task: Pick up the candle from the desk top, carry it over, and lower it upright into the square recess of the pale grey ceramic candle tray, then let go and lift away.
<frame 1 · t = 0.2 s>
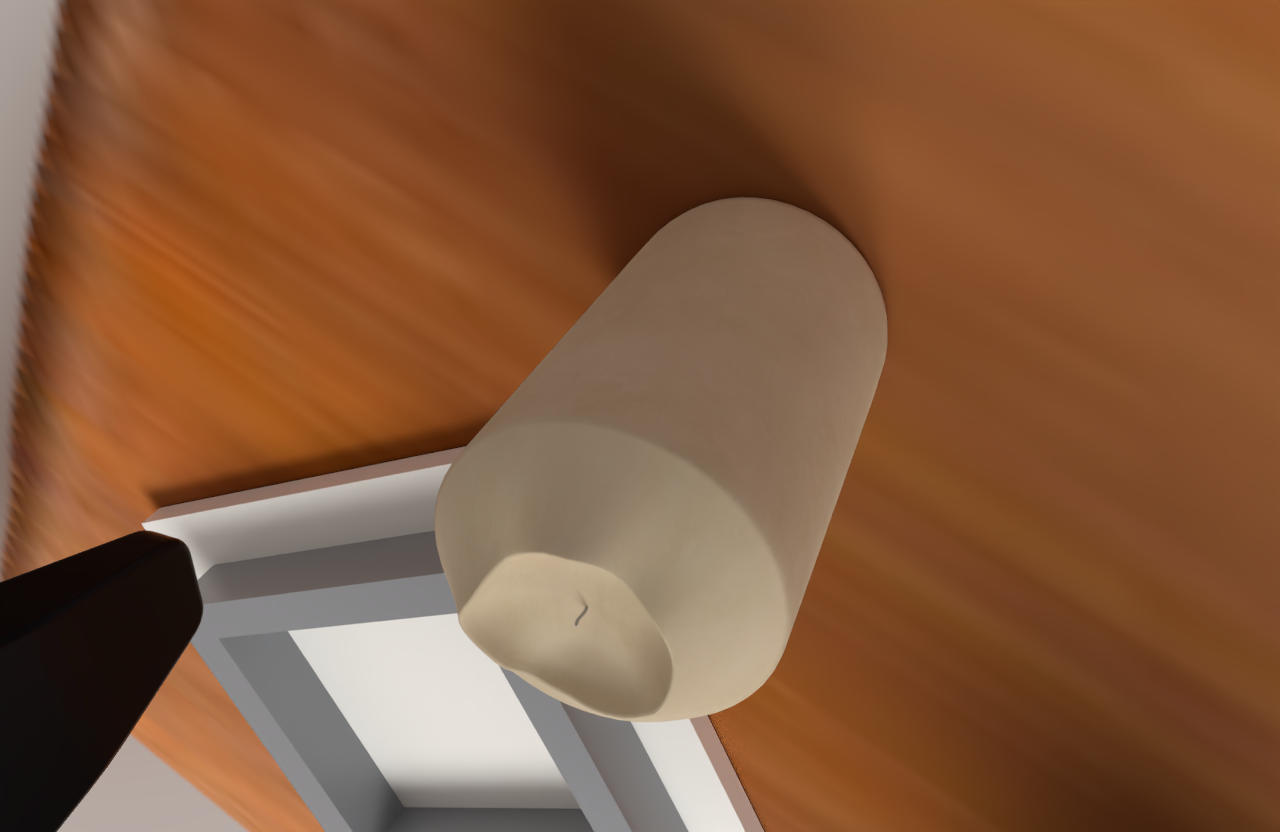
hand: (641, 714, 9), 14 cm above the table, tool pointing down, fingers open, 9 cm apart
candle: (759, 316, 22), on the table
candle tray: (461, 679, 32), on the table
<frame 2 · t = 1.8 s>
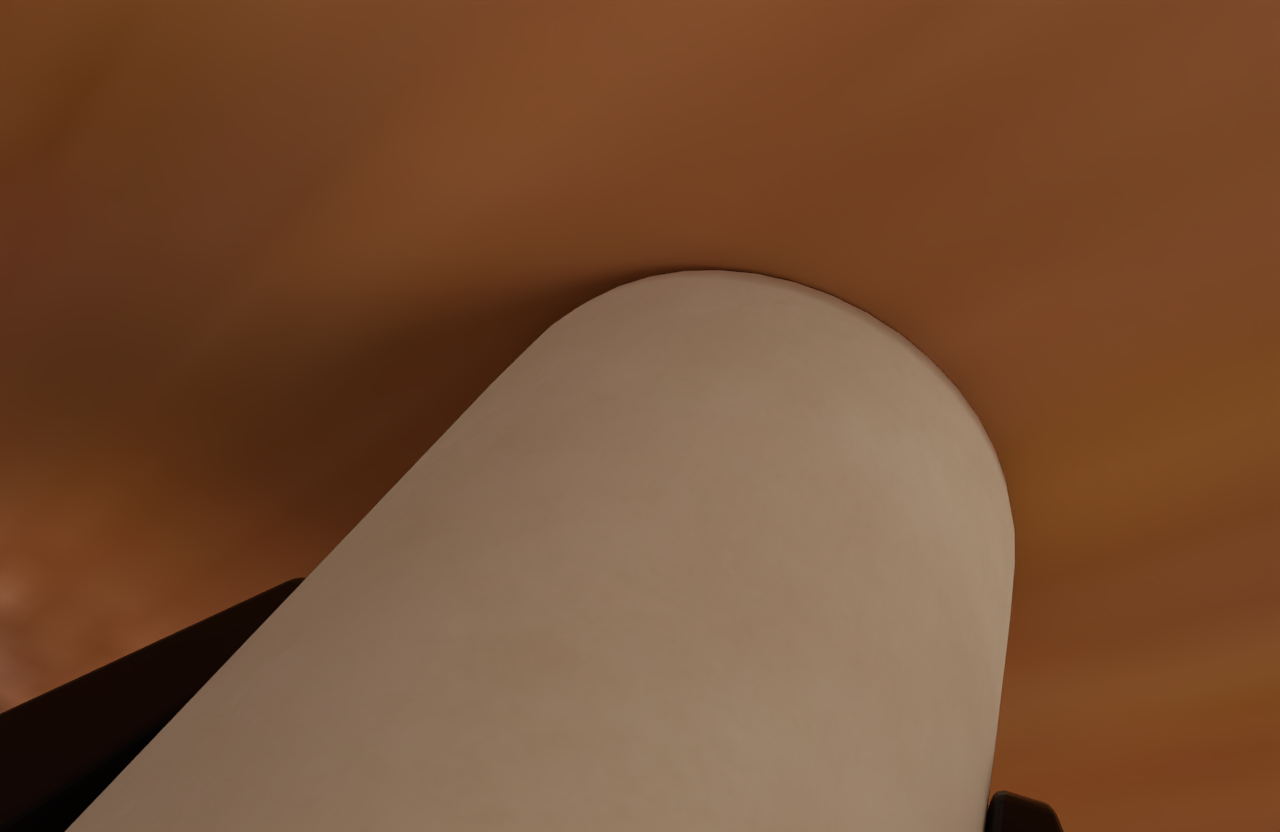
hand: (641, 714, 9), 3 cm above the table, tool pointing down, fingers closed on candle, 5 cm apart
candle: (746, 494, 11), on the table, touching gripper
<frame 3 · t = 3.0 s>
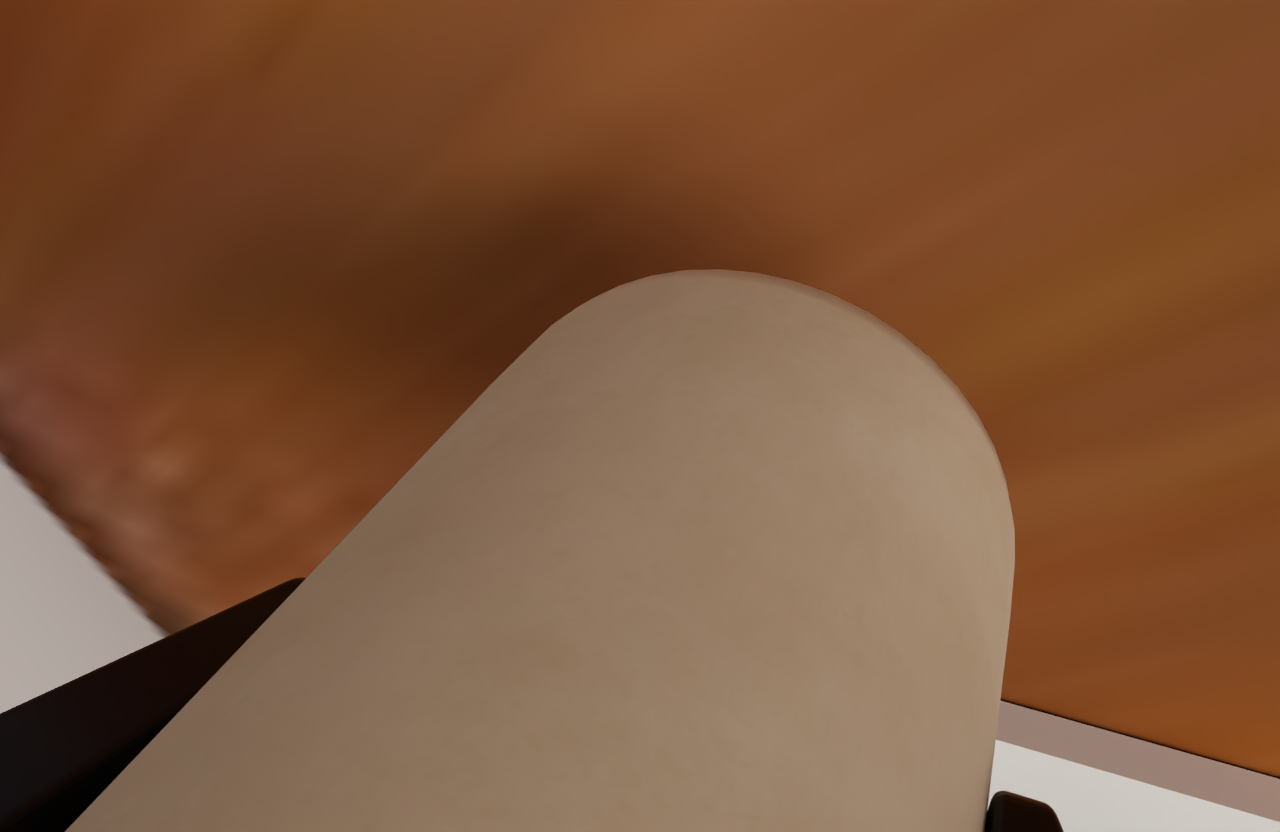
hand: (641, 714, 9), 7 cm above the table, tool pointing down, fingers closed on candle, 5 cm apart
candle: (747, 493, 11), point 4 cm above the table, touching gripper
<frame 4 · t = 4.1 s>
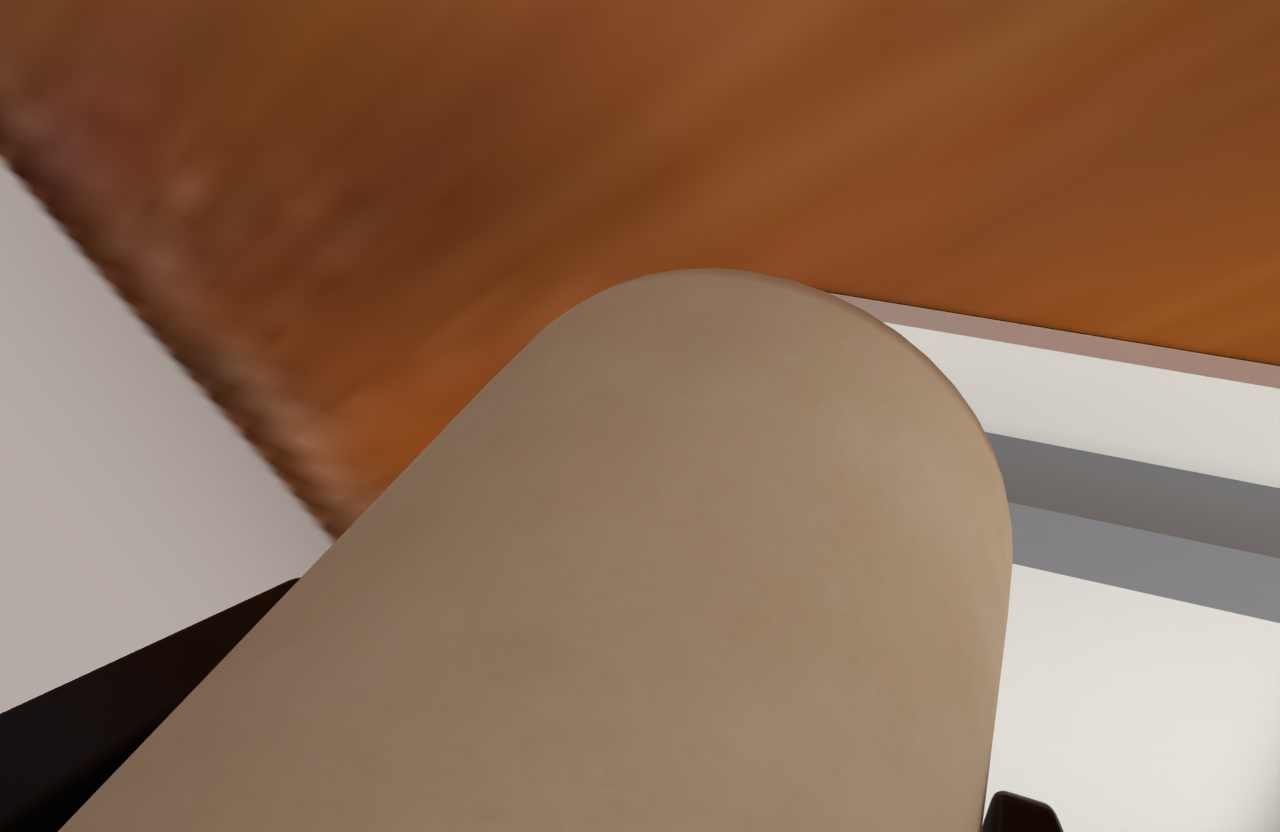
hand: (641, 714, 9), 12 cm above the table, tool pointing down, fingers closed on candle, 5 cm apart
candle: (744, 493, 11), point 9 cm above the table, touching gripper
candle tray: (1127, 683, 22), on the table
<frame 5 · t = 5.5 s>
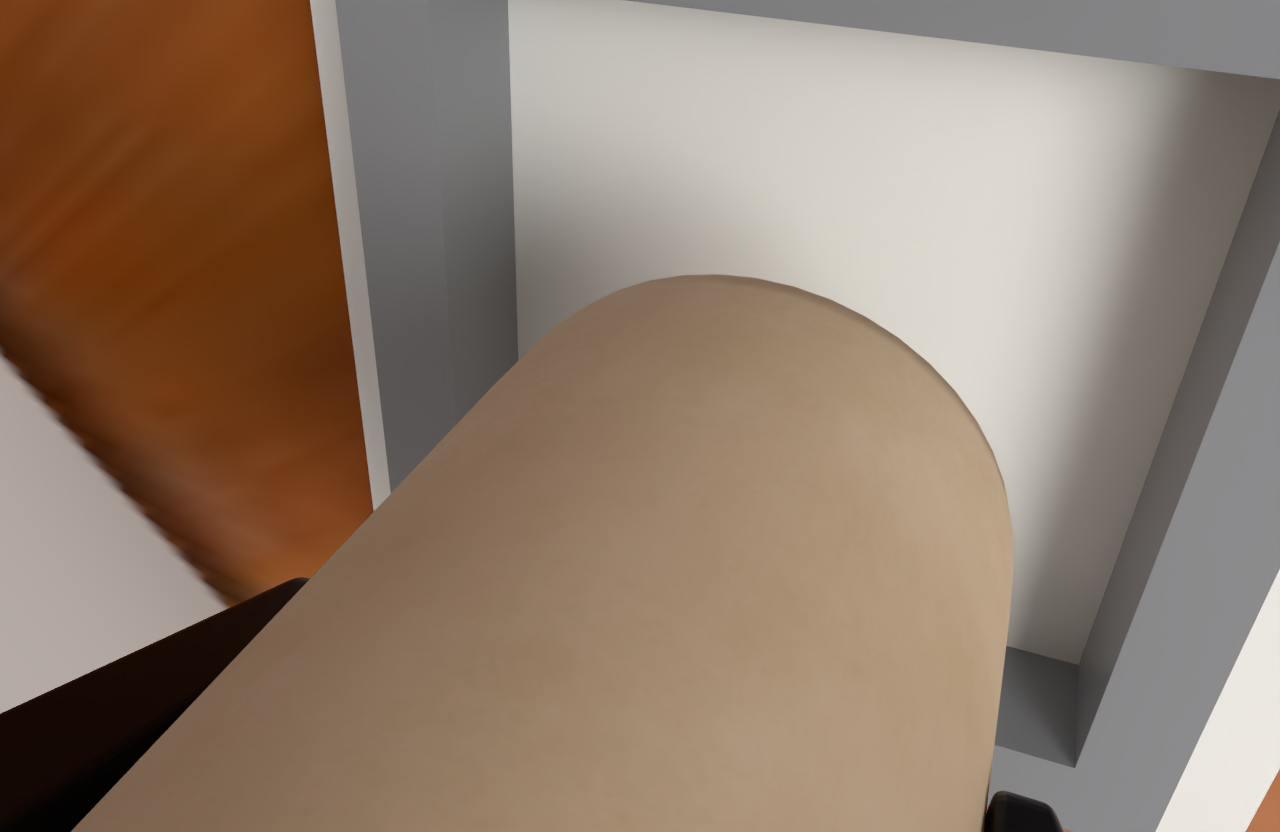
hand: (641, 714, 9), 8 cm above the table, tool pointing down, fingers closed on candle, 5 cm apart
candle: (746, 498, 11), point 5 cm above the table, touching gripper
candle tray: (828, 311, 15), on the table
when the fingers open (5 cm above the table, at t = 6.6 s): candle drops 1 cm, resting on candle tray.
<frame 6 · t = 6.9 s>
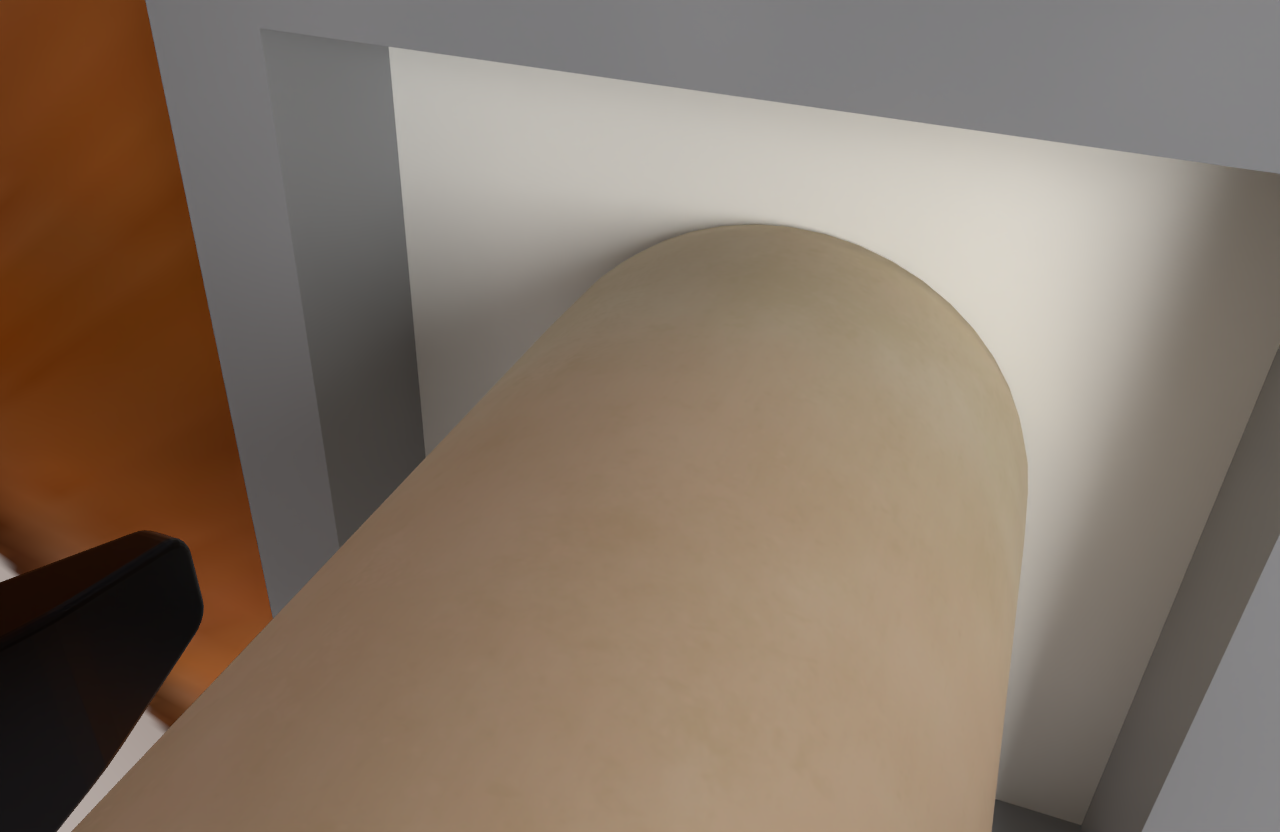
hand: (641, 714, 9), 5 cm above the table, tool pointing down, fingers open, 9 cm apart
candle: (777, 438, 12), point 1 cm above the table, touching candle tray
candle tray: (784, 412, 13), on the table
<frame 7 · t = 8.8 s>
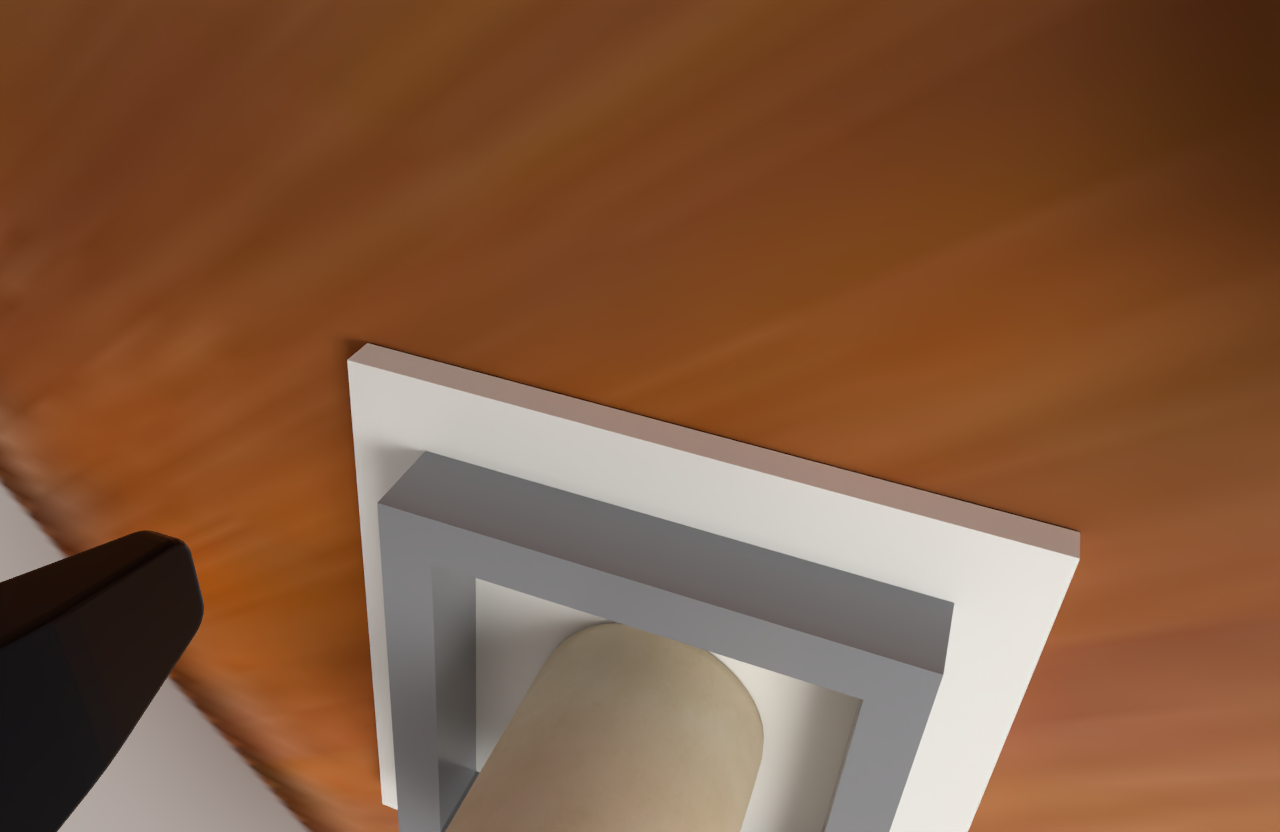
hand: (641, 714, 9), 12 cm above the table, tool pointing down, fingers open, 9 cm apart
candle: (655, 704, 25), point 1 cm above the table, touching candle tray
candle tray: (660, 686, 26), on the table
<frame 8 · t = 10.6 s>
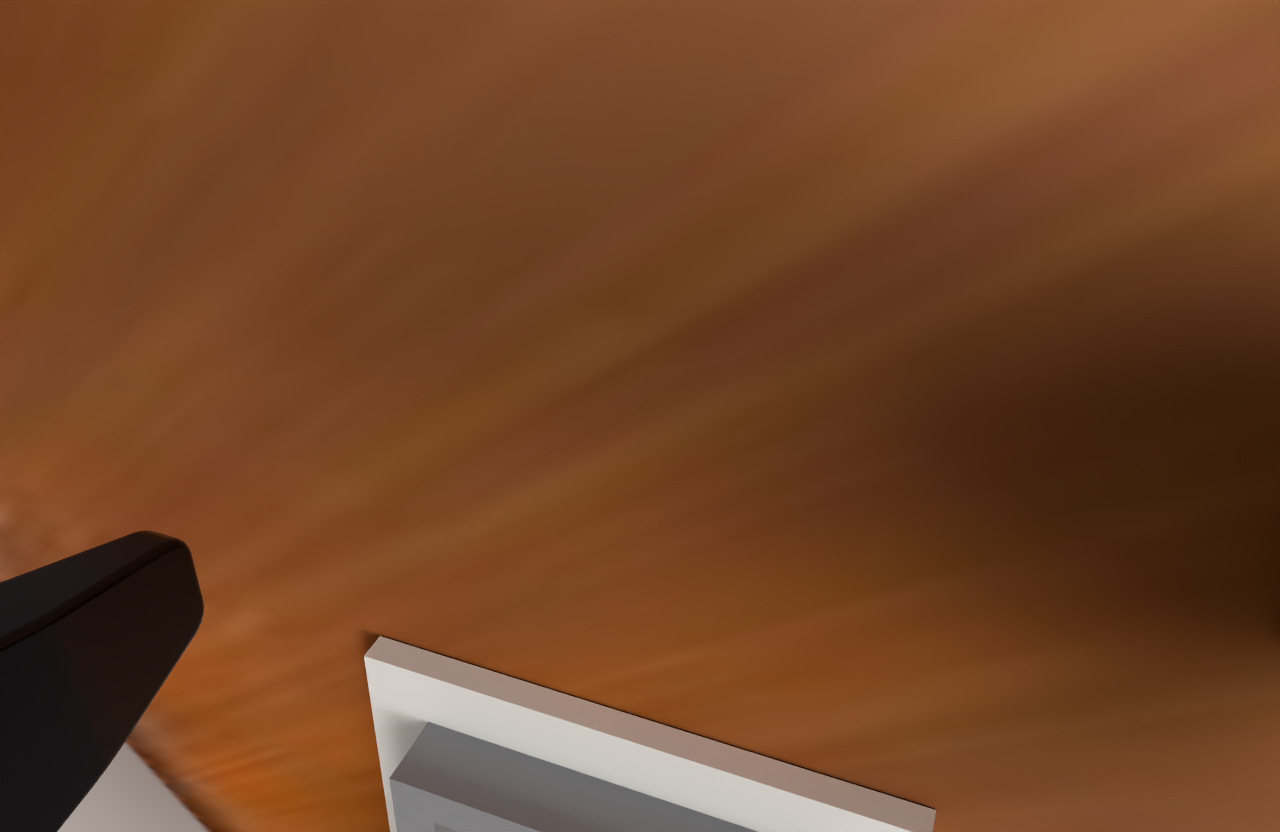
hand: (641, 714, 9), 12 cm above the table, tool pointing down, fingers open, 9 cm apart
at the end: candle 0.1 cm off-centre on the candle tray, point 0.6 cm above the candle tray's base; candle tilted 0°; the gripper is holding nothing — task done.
